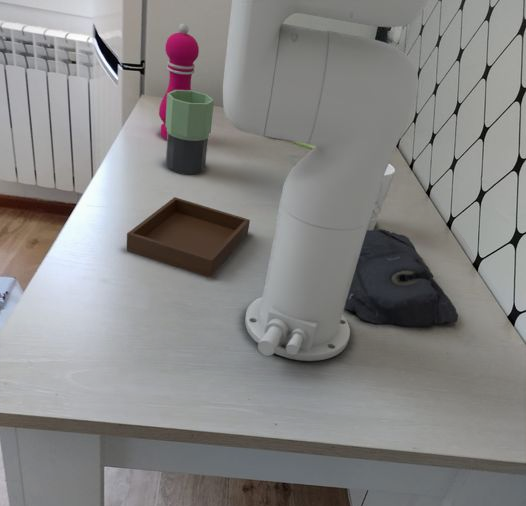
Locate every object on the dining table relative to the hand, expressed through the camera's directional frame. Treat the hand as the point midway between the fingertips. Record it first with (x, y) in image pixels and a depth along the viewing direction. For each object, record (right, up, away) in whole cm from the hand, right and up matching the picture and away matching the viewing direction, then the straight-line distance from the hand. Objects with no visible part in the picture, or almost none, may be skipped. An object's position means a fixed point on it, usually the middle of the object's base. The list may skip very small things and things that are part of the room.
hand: (324, 13), depth 89 cm
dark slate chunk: (+8, -41, -5) cm, 42 cm away
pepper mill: (-26, -9, +28) cm, 39 cm away
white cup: (+6, -30, +8) cm, 32 cm away
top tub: (-22, -13, +12) cm, 29 cm away
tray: (-20, -36, -6) cm, 41 cm away
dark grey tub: (-23, -18, +16) cm, 33 cm away
